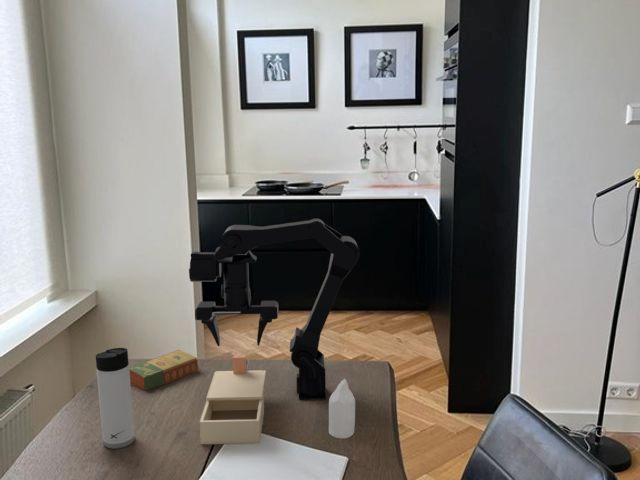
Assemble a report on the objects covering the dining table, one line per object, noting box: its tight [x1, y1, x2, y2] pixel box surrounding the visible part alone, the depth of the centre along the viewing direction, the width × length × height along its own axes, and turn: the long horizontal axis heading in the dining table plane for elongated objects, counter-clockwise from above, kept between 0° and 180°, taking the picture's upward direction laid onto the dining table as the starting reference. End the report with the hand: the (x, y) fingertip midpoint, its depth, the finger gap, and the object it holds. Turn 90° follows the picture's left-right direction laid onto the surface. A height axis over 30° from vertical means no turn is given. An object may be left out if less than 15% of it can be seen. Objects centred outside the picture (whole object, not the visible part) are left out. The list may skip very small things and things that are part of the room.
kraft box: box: [199, 389, 265, 446], centre depth 135 cm, size 12×14×5 cm
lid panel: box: [205, 354, 267, 402], centre depth 142 cm, size 12×14×5 cm
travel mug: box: [95, 347, 136, 450], centre depth 128 cm, size 6×7×20 cm
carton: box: [129, 349, 199, 392], centre depth 161 cm, size 8×16×4 cm, turn 137°
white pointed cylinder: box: [328, 378, 356, 440], centre depth 131 cm, size 6×12×6 cm
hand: (238, 345), depth 147 cm, fingers open, 9 cm apart
